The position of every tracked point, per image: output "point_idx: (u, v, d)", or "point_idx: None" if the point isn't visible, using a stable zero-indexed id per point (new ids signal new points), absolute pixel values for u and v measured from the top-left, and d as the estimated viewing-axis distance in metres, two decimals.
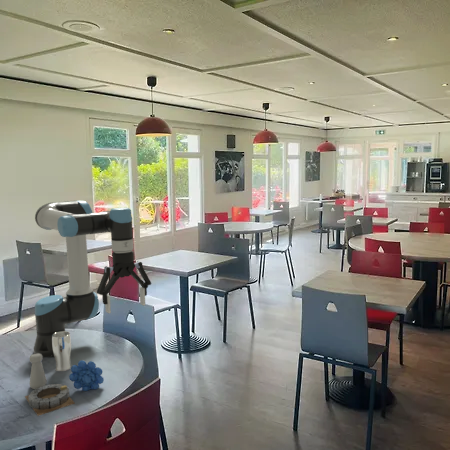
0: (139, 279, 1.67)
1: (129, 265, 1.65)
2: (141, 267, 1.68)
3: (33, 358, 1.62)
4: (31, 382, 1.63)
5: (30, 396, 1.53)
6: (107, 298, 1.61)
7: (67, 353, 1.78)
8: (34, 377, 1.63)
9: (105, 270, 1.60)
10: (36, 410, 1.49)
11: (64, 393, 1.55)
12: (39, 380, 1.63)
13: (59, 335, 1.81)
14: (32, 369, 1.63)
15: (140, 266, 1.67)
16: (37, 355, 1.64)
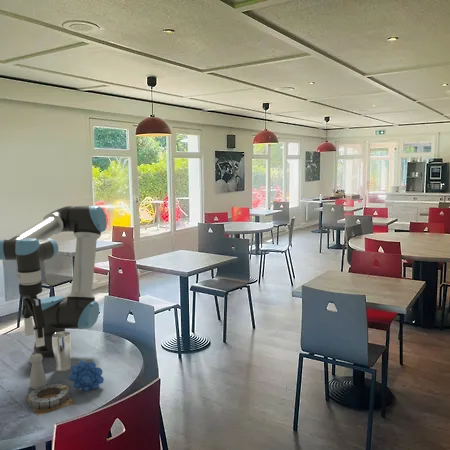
0: (33, 317, 1.57)
1: (29, 298, 1.59)
2: (33, 306, 1.56)
3: (33, 358, 1.62)
4: (31, 382, 1.63)
5: (30, 396, 1.53)
6: None
7: (67, 353, 1.78)
8: (34, 377, 1.63)
9: None
10: (36, 410, 1.49)
11: (64, 393, 1.55)
12: (39, 380, 1.63)
13: (59, 335, 1.81)
14: (32, 369, 1.63)
15: (32, 304, 1.56)
16: (37, 355, 1.64)
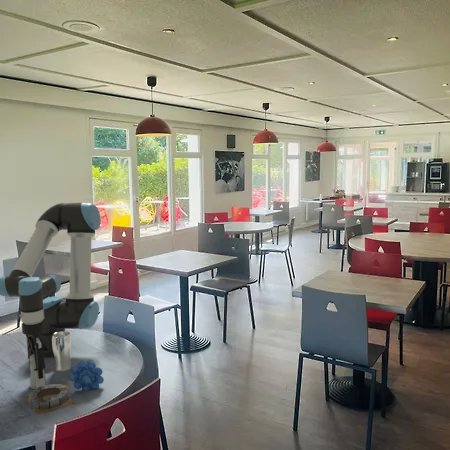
0: (34, 358, 1.61)
1: (32, 336, 1.61)
2: (35, 348, 1.58)
3: (33, 358, 1.62)
4: (31, 382, 1.63)
5: (30, 396, 1.53)
6: None
7: (67, 353, 1.78)
8: (34, 377, 1.63)
9: None
10: (36, 410, 1.49)
11: (64, 393, 1.55)
12: None
13: (59, 335, 1.81)
14: (32, 369, 1.63)
15: (35, 346, 1.59)
16: None
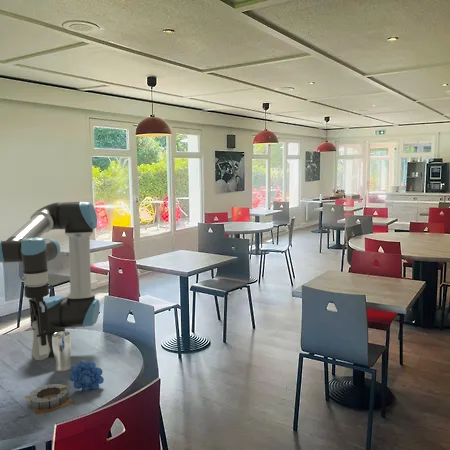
0: (37, 323, 1.51)
1: (35, 300, 1.51)
2: (38, 312, 1.48)
3: (36, 323, 1.52)
4: (34, 349, 1.53)
5: (30, 396, 1.53)
6: None
7: (67, 353, 1.77)
8: (36, 344, 1.53)
9: None
10: (36, 410, 1.49)
11: (64, 393, 1.55)
12: None
13: (59, 335, 1.81)
14: (35, 335, 1.53)
15: (38, 310, 1.48)
16: None
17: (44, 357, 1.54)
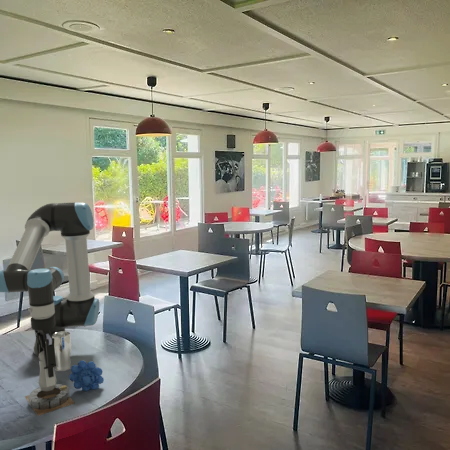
0: (44, 355, 1.50)
1: (42, 332, 1.50)
2: (46, 345, 1.48)
3: (43, 355, 1.51)
4: (41, 381, 1.52)
5: (30, 396, 1.53)
6: None
7: (67, 353, 1.78)
8: (43, 376, 1.52)
9: None
10: (36, 410, 1.49)
11: (64, 393, 1.55)
12: None
13: (59, 335, 1.81)
14: (42, 367, 1.52)
15: (45, 343, 1.48)
16: None
17: (51, 388, 1.53)
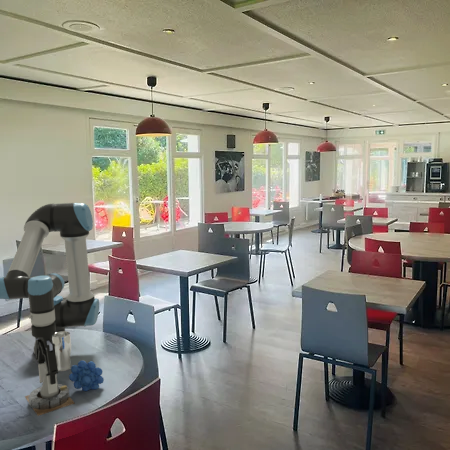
0: (46, 362, 1.50)
1: (42, 339, 1.51)
2: (46, 351, 1.47)
3: None
4: (43, 390, 1.53)
5: (30, 396, 1.53)
6: None
7: (67, 353, 1.78)
8: (47, 385, 1.53)
9: None
10: (36, 410, 1.49)
11: (64, 393, 1.55)
12: None
13: (59, 335, 1.81)
14: (46, 376, 1.54)
15: (46, 349, 1.48)
16: None
17: None
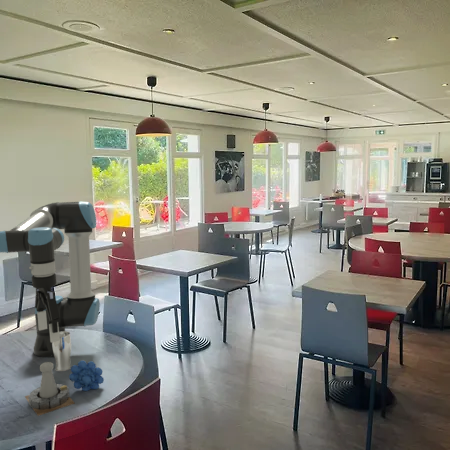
0: (47, 311, 1.49)
1: (43, 291, 1.51)
2: (47, 299, 1.47)
3: (44, 367, 1.52)
4: (42, 392, 1.53)
5: (30, 396, 1.53)
6: None
7: (67, 353, 1.78)
8: (44, 387, 1.53)
9: None
10: (36, 410, 1.49)
11: (64, 393, 1.55)
12: (50, 390, 1.53)
13: (59, 335, 1.81)
14: (43, 378, 1.53)
15: (47, 297, 1.48)
16: (48, 364, 1.53)
17: None
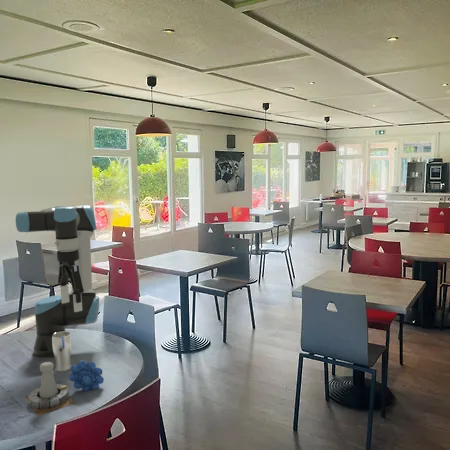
0: (71, 283, 1.61)
1: (67, 265, 1.63)
2: (71, 271, 1.60)
3: (44, 367, 1.52)
4: (42, 392, 1.53)
5: (30, 396, 1.53)
6: None
7: (67, 353, 1.78)
8: (44, 387, 1.53)
9: None
10: (36, 410, 1.49)
11: (64, 393, 1.55)
12: (50, 390, 1.53)
13: (59, 335, 1.81)
14: (43, 378, 1.53)
15: (71, 270, 1.60)
16: (48, 364, 1.53)
17: None
